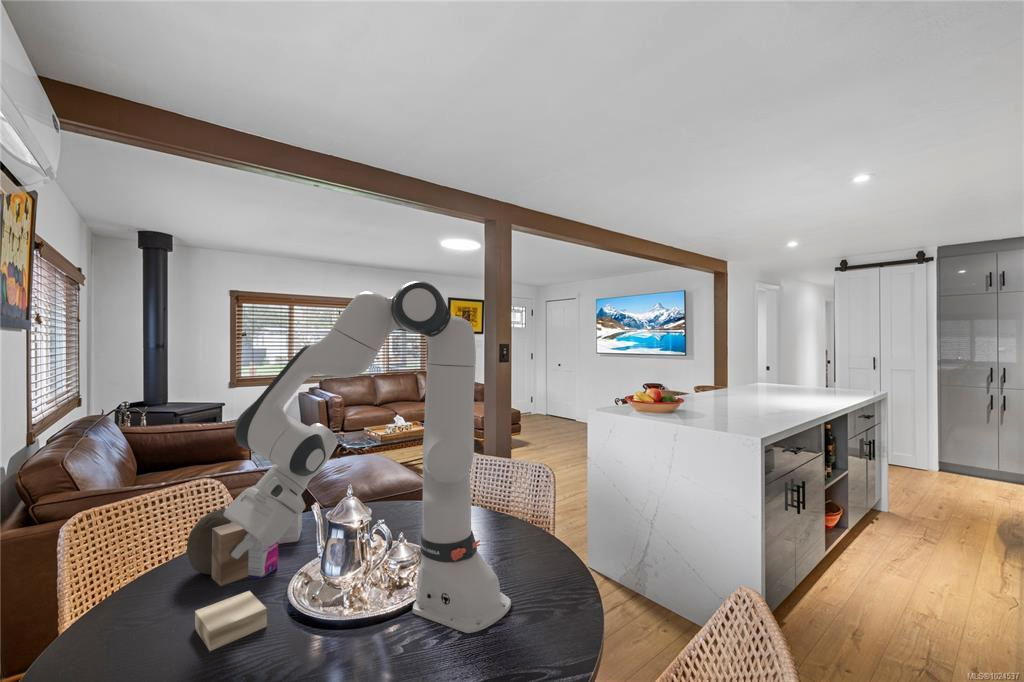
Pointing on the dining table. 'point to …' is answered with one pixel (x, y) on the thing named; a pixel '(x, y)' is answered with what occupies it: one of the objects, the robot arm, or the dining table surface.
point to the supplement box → (262, 559)
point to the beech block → (230, 620)
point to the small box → (292, 531)
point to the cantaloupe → (204, 540)
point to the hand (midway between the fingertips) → (226, 551)
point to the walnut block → (222, 561)
